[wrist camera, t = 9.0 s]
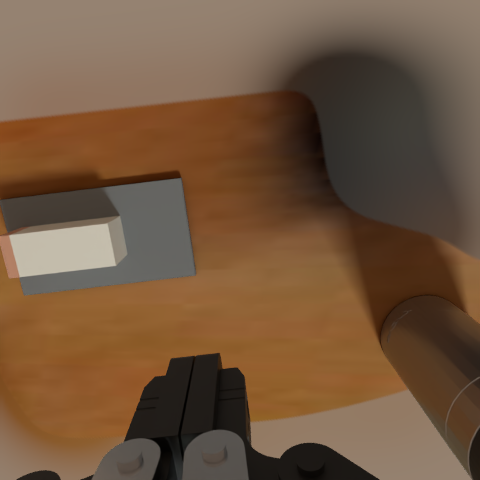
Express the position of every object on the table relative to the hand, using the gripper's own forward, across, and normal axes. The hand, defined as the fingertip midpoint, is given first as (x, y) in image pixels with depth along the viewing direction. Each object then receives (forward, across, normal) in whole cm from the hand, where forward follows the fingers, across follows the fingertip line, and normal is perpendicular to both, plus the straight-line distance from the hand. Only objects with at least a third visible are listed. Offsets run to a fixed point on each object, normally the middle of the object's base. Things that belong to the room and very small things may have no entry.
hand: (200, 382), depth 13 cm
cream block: (+26, +10, 0) cm, 28 cm away
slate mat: (+29, +13, +1) cm, 32 cm away
